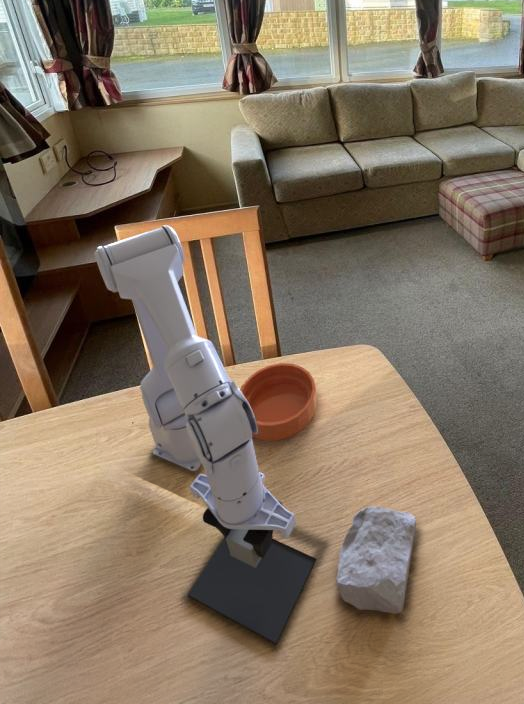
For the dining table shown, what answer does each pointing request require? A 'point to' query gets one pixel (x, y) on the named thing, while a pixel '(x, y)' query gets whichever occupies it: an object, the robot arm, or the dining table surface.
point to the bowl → (280, 400)
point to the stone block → (376, 559)
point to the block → (242, 547)
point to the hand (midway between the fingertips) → (251, 542)
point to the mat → (254, 587)
